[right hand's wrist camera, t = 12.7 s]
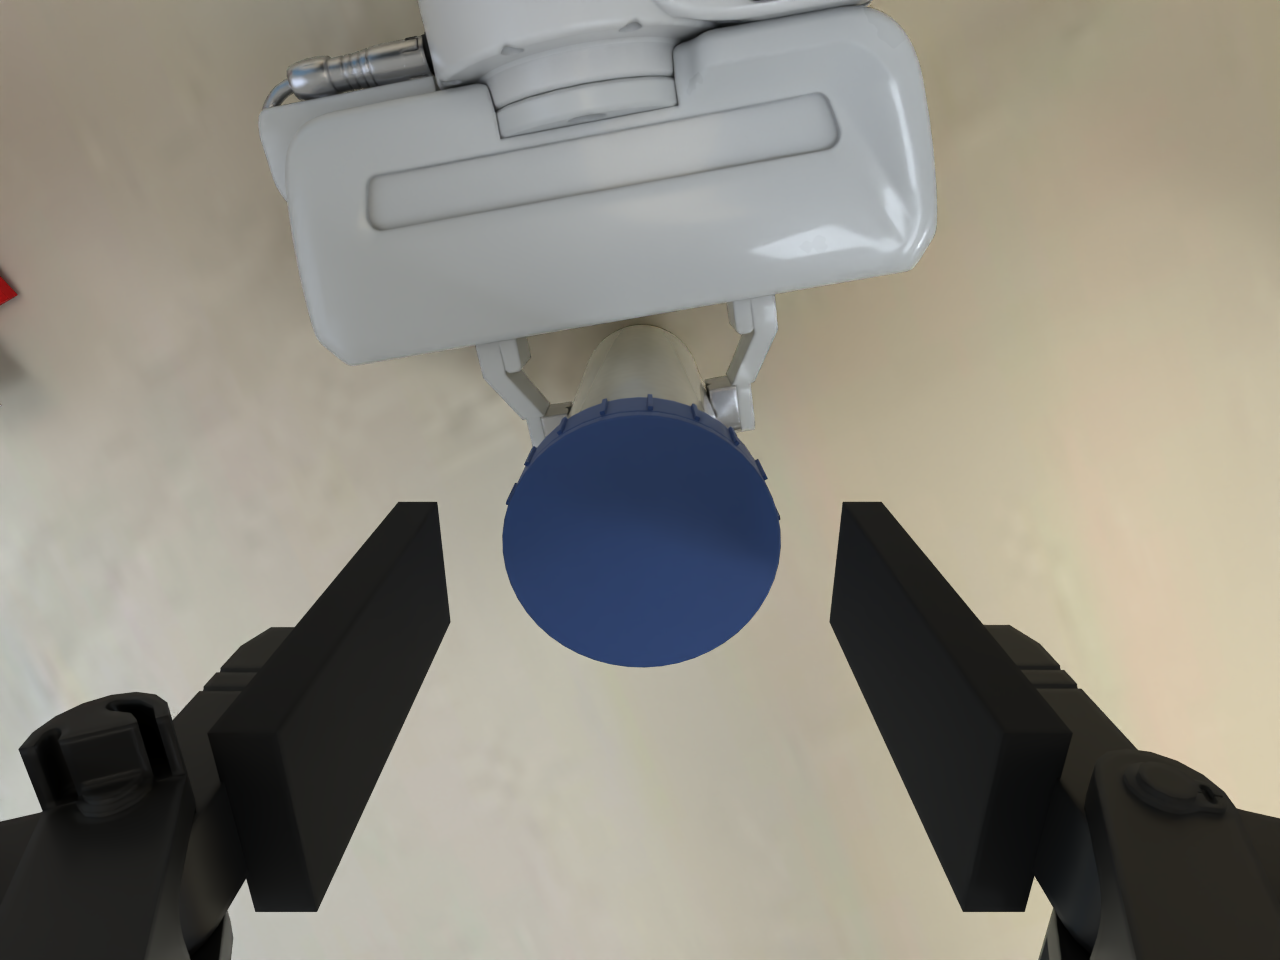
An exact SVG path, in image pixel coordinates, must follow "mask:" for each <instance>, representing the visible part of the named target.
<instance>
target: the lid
mask: <svg viewBox="0 0 1280 960" xmlns="http://www.w3.org/2000/svg"><path fill="white" fill-rule="evenodd" d="M524 465H525V468H524V470H523V472H522V475H521V477H520V479H519V481H518V483H515V484H514V486H513V489H512V491H511V493H510V495H509V497H508V499H507V501H506V505H508V508H507V511H506V515H505V519H504V527H503V535H502V537H503V556H504V561H505V567H506V571H507V574H508V577H509V580H510V583H511V586H512V588H513V590H514V592H515V594H516V596H517V598H518V600H519V601H520V603H521V604H522V606H523V607H524V609H525V610H526V612H527V613H528V614H529V616H530V617H531V618H532V619H533V620H534V621H535V622H536V624H537V625H538V626H539V627H540V628H542V629H543V630H544V631H545V632H546V633H547V634H548V635H549V636H550V637H552V638H553V639H555V640H556V641H558V642H559V643H561V644H562V645H563V646H565V647H567V648H569V649H571V650H573V651H574V652H576V653H578V654H581V655H583V656H586V657H588V658H591V659H593V660H597V661H600V662H604V663H608V664H612V665H619V666H626V667H657V666H665V665H670V664H676V663H680V662H683V661H686V660H690V659H693V658H696V657H698V656H700V655H702V654H705V653H707V652H709V651H711V650H713V649H714V648H716V647H718V646H720V645H721V644H723V643H725V642H726V641H727V640H729V639H730V638H731V637H732V636H734V635H735V634H736V633H738V632H739V631H740V630H741V629H742V628H743V627H744V626H745V625H746V624H747V623H748V622H749V621H750V620H751V618H752V617H753V616H754V615H755V613H756V612H757V611H758V610H759V608H760V607H761V605H762V603H763V601H764V600H765V598H766V596H767V595H768V593H769V590H770V588H771V586H772V583H773V581H774V579H775V575H776V571H777V568H778V564H779V557H780V549H781V536H780V525H779V520H780V515H779V513H778V511H777V509H776V507H775V504H774V501H773V498H772V496H771V493H770V491H769V489H768V487H767V485H766V483H765V481H764V480H766V479H768V478H767V476H766V474H765V472H764V470H763V468H762V466H761V464H760V462H759V460H758V459H757V460H754V458H753V457H752V455H751V454H750V452H749V451H748V449H747V448H746V446H745V445H744V444H743V443H742V442H741V441H740V440H739V438H738V437H737V435H736V433H735V430H734V428H732V427H731V426H730V427H729V428H727V427H726V426H725V425H723V424H722V423H721V422H719V421H718V420H716V419H715V418H713V417H711V416H710V415H708V414H707V413H705V412H702V411H700V410H698V408H697V405H695V404H693V403H692V405H691V406H689V405H686V404H682V403H679V402H676V401H672V400H666V399H660V398H653V396H652V394H648V397H633V398H622V399H617V400H612V401H607V398H606V399H602V403H600V404H598V405H595V406H592V407H589V408H587V409H585V410H583V411H581V412H579V413H577V414H575V415H573V416H571V417H570V418H568V419H567V418H566V416H565V417H564V418H562V420H561V422H560V425H558V426H557V427H556V428H555V429H554V430H553V431H552V432H551V433H550V434H548V435H547V436H546V437H545V438H544V440H543V441H542V442H541V443H540V445H539V446H538V447H537V448H536V447H535V446H533V448H532V449H531V451H530V453H529V455H528V457H527V459H526V462H525V464H524Z"/></svg>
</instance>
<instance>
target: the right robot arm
mask: <svg viewBox="0 0 1280 960" xmlns="http://www.w3.org/2000/svg"><path fill="white" fill-rule="evenodd" d="M449 624H450V613H449V604H448V595H447V586H446V577H445V568H444V559H443V550H442V541H441V532H440V523H439V514H438V505H437V502H398V503H397V504H396V506H395V507H394V508H393V509H392V510H391V512H390V513H389V514H388V515H387V516H386V518H385V519H384V520H383V521H382V523H381V524H380V525H379V526H378V527H377V529H376V530H375V531H374V532H373V533H372V535H371V536H370V537H369V538H368V539H367V541H366V542H365V543H364V544H363V545H362V547H361V548H360V549H359V550H358V552H357V553H356V554H355V555H354V556H353V558H352V559H351V560H350V561H349V562H348V564H347V565H346V566H345V567H344V568H343V570H342V571H341V572H340V573H339V574H338V576H337V577H336V578H335V579H334V580H333V582H332V583H331V584H330V585H329V587H328V588H327V589H326V590H325V591H324V593H323V594H322V595H321V596H320V597H319V599H318V600H317V601H316V602H315V603H314V605H313V606H312V607H311V608H310V609H309V611H308V612H307V613H306V614H305V616H304V617H303V618H302V619H301V620H300V622H299V623H298V624H297V625H296V626H295V627H271V628H269V629H267V630H266V631H264V632H263V633H261V634H259V635H258V636H256V637H255V638H253V639H251V640H250V641H248V642H247V643H245V644H243V645H242V646H240V647H239V649H238V650H237V651H236V652H235V653H234V654H233V655H232V656H231V657H230V658H229V659H228V661H227V662H226V663H225V664H224V665H223V666H222V667H221V670H220V673H216V674H215V675H214V676H213V677H212V678H211V679H210V680H209V681H208V682H207V683H206V685H205V686H204V690H203V691H199V692H198V693H197V694H196V695H195V697H194V698H193V699H192V700H191V701H190V702H189V703H188V704H187V705H186V706H185V707H184V709H183V710H182V711H181V712H180V713H179V714H178V715H177V716H176V717H175V718H174V719H173V721H172V718H171V714H170V711H169V707H168V704H167V702H166V701H164V700H163V699H161V698H160V697H159V696H157V695H155V694H148V693H140V692H132V693H124V694H115V695H109V696H106V697H103V698H99V699H96V700H93V701H89V702H86V703H83V704H81V705H79V706H76V707H74V708H72V709H70V710H68V711H66V712H64V713H62V714H59V715H57V716H55V717H54V718H53V719H51V720H50V721H48V722H47V723H45V724H44V725H43V726H41V727H40V728H38V729H37V730H35V731H34V732H33V733H32V734H31V735H30V736H29V737H28V739H27V740H26V741H25V742H24V743H23V744H22V746H21V747H20V748H19V752H20V754H21V757H22V759H23V762H24V765H25V767H26V770H27V772H28V775H29V777H30V780H31V782H32V785H33V787H34V790H35V793H36V795H37V798H38V800H39V803H40V805H41V808H42V810H43V811H42V812H40V813H37V814H32V815H28V816H23V817H19V818H15V819H10V820H6V821H1V822H0V960H231V954H232V945H233V933H232V927H231V921H230V918H229V914H228V911H227V910H228V908H229V906H230V905H231V903H232V901H233V900H234V898H235V896H236V895H237V893H238V891H239V889H240V888H241V886H242V884H243V883H244V881H245V879H247V883H248V886H249V890H250V894H251V897H252V901H253V905H254V908H255V912H317V911H318V908H319V906H320V904H321V902H322V900H323V898H324V895H325V893H326V891H327V889H328V887H329V885H330V882H331V880H332V878H333V876H334V874H335V872H336V869H337V867H338V865H339V863H340V861H341V858H342V856H343V854H344V852H345V850H346V848H347V845H348V843H349V841H350V839H351V837H352V835H353V832H354V830H355V828H356V826H357V824H358V822H359V819H360V817H361V815H362V813H363V811H364V809H365V806H366V804H367V802H368V800H369V798H370V796H371V793H372V791H373V789H374V787H375V785H376V782H377V780H378V778H379V776H380V774H381V772H382V769H383V767H384V765H385V763H386V761H387V759H388V756H389V754H390V752H391V750H392V748H393V746H394V743H395V741H396V739H397V737H398V735H399V733H400V730H401V728H402V726H403V724H404V722H405V720H406V717H407V715H408V713H409V711H410V709H411V706H412V704H413V702H414V700H415V698H416V696H417V693H418V691H419V689H420V687H421V685H422V683H423V680H424V678H425V676H426V674H427V672H428V670H429V667H430V665H431V663H432V661H433V659H434V657H435V654H436V652H437V650H438V648H439V646H440V644H441V641H442V639H443V637H444V635H445V633H446V631H447V628H448V626H449ZM830 624H831V626H832V628H833V631H834V633H835V635H836V637H837V639H838V641H839V644H840V646H841V648H842V650H843V652H844V654H845V657H846V659H847V661H848V663H849V665H850V667H851V670H852V672H853V674H854V676H855V678H856V680H857V683H858V685H859V687H860V689H861V691H862V693H863V696H864V698H865V700H866V702H867V704H868V707H869V709H870V711H871V713H872V715H873V717H874V720H875V722H876V724H877V726H878V728H879V730H880V733H881V735H882V737H883V739H884V741H885V743H886V746H887V748H888V750H889V752H890V754H891V756H892V759H893V761H894V763H895V765H896V767H897V769H898V772H899V774H900V776H901V778H902V780H903V782H904V785H905V787H906V789H907V791H908V793H909V796H910V798H911V800H912V802H913V804H914V806H915V809H916V811H917V813H918V815H919V817H920V819H921V822H922V824H923V826H924V828H925V830H926V832H927V835H928V837H929V839H930V841H931V843H932V845H933V848H934V850H935V852H936V854H937V856H938V858H939V861H940V863H941V865H942V867H943V869H944V872H945V874H946V876H947V878H948V880H949V882H950V885H951V887H952V889H953V891H954V893H955V895H956V898H957V900H958V902H959V904H960V906H961V908H962V911H963V912H1025V908H1026V905H1027V901H1028V897H1029V894H1030V890H1031V886H1032V883H1033V879H1034V876H1035V877H1036V879H1037V881H1038V882H1039V884H1040V886H1041V887H1042V889H1043V891H1044V893H1045V894H1046V896H1047V898H1048V899H1049V901H1050V903H1051V904H1052V906H1053V911H1052V914H1051V918H1050V921H1049V925H1048V928H1047V932H1046V935H1045V939H1044V942H1043V946H1042V949H1041V952H1040V956H1039V959H1038V960H1280V818H1275V817H1271V816H1266V815H1262V814H1257V813H1253V812H1248V811H1244V810H1240V809H1237V808H1236V807H1235V806H1234V804H1233V803H1232V802H1231V800H1230V799H1229V798H1228V796H1227V795H1226V793H1225V792H1224V791H1223V790H1221V789H1220V788H1219V787H1218V786H1216V785H1215V784H1214V783H1213V782H1211V781H1210V780H1209V779H1208V778H1206V777H1205V776H1204V775H1203V774H1201V773H1199V772H1197V771H1195V770H1193V769H1191V768H1189V767H1188V766H1186V765H1184V764H1182V763H1180V762H1178V761H1176V760H1173V759H1170V758H1167V757H1164V756H1161V755H1158V754H1155V753H1152V752H1147V751H1140V750H1137V749H1136V747H1135V746H1134V745H1133V744H1132V743H1131V742H1130V741H1129V740H1128V739H1127V738H1126V737H1125V736H1124V734H1123V733H1122V732H1121V731H1120V730H1119V729H1118V728H1117V727H1116V726H1115V725H1114V724H1113V723H1112V721H1111V720H1110V719H1109V718H1108V717H1107V716H1106V715H1105V714H1104V713H1103V712H1102V711H1101V710H1100V708H1099V707H1098V706H1097V705H1096V704H1095V703H1094V702H1093V701H1092V700H1091V699H1090V698H1089V697H1088V695H1087V694H1086V693H1085V692H1084V691H1083V690H1082V689H1078V688H1077V684H1076V682H1075V681H1074V680H1073V679H1072V678H1071V677H1070V676H1069V675H1068V674H1067V673H1066V672H1065V670H1060V665H1059V664H1058V663H1057V662H1056V661H1055V660H1054V659H1053V657H1052V656H1051V655H1050V654H1049V653H1048V652H1047V651H1046V650H1045V649H1044V648H1043V647H1042V646H1041V644H1039V643H1038V642H1036V641H1035V640H1033V639H1031V638H1030V637H1028V636H1026V635H1025V634H1023V633H1022V632H1020V631H1018V630H1017V629H1015V628H1013V627H1012V626H1010V625H983V624H982V623H981V622H980V620H979V619H978V618H977V617H976V616H975V614H974V613H973V612H972V611H971V609H970V608H969V607H968V606H967V605H966V603H965V602H964V601H963V600H962V599H961V597H960V596H959V595H958V594H957V593H956V591H955V590H954V589H953V588H952V587H951V585H950V584H949V583H948V582H947V580H946V579H945V578H944V577H943V576H942V574H941V573H940V572H939V571H938V570H937V568H936V567H935V566H934V565H933V564H932V562H931V561H930V560H929V559H928V558H927V556H926V555H925V554H924V553H923V552H922V550H921V549H920V548H919V547H918V545H917V544H916V543H915V542H914V541H913V539H912V538H911V537H910V536H909V535H908V533H907V532H906V531H905V530H904V529H903V527H902V526H901V525H900V524H899V523H898V521H897V520H896V519H895V518H894V517H893V515H892V514H891V513H890V512H889V510H888V509H887V508H886V507H885V506H884V504H883V503H882V502H843V505H842V514H841V523H840V532H839V541H838V550H837V559H836V568H835V577H834V586H833V595H832V604H831V613H830Z"/></svg>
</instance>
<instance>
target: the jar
mask: <svg viewBox="0 0 1280 960" xmlns="http://www.w3.org/2000/svg"><path fill="white" fill-rule="evenodd" d="M648 394H652V396H653V398H660V399H666V400H672V401H676V402H679V403H682V404H686V405H689V406H691V405H692V403H693V404H695V405H697V408H698V410H700V411H702V412H705V413H707V414H708V415H710V416H711V417H713V418H715V419H716V417H715V414H714V411H713V408H712V406H711V403H710V400H709V398H708V395H707V392H706V390H705V387H704V384H703V382H702V379H701V376H700V373H699V371H698V368H697V365H696V363H695V360H694V358H693V356H692V354H691V352H690V351H689V349H688V348H687V346H686V345H685V344H684V343H683V342H682V341H681V340H680V339H679V338H678V337H676V336H675V335H673V334H672V333H670V332H668V331H666V330H664V329H662V328H659V327H655V326H650V325H634V326H629V327H625V328H622V329H619V330H617V331H615V332H613V333H612V334H610V335H609V336H607V337H606V338H605V339H604V340H603V341H602V342H601V343H600V344H599V345H598V346H597V347H596V349H595V350H594V352H593V353H592V355H591V357H590V359H589V362H588V364H587V367H586V370H585V372H584V375H583V378H582V380H581V383H580V386H579V388H578V391H577V394H576V396H575V399H574V402H573V404H572V407H571V410H570V412H569V415H568V418H570V417H571V416H573V415H575V414H577V413H579V412H581V411H583V410H585V409H587V408H589V407H592V406H595V405H598V404H600V403H602V399H606V398H607V401H612V400H617V399H622V398H633V397H648ZM568 418H567V419H568ZM716 420H717V419H716Z"/></svg>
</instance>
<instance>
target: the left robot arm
mask: <svg viewBox="0 0 1280 960" xmlns="http://www.w3.org/2000/svg"><path fill="white" fill-rule="evenodd" d="M871 2H872V0H418V5H419V9H420V13H421V17H422V21H423V24H424V29H425V34H424V35H421V36H418V37H417V36H414V37H409V38H406V39H403V40H398V41H393V42H388V43H383V44H378V45H375V46H371V47H369V48H365V49H363V50H361V51H357V52H354V53H352V54H347V55H344V56H338V57H334V58H331V57H329V56H318V57H312V58H307V59H304V60H301V61H299V62H296V63H294V64H292V65H291V66H289V67H288V69H287V79H285V80H283V81H282V82H280V83H279V84H278V85H276V86H275V87H274V88H273V89H272V91H271V92H270V93H269V95H268V96H267V98H266V100H265V102H264V105H263V108H262V111H261V113H260V115H259V120H258V126H259V134H260V139H261V142H262V145H263V148H264V152H265V155H266V158H267V161H268V164H269V167H270V171H271V174H272V177H273V180H274V182H275V185H276V187H277V188H278V190H279V192H280V194H281V195H282V196H283V198H284V199H285V201H286V202H287V204H288V212H289V219H290V225H291V232H292V238H293V244H294V250H295V255H296V260H297V265H298V270H299V275H300V280H301V284H302V288H303V293H304V297H305V301H306V305H307V309H308V312H309V316H310V320H311V323H312V327H313V330H314V333H315V335H316V337H317V339H318V340H319V342H320V343H321V344H322V345H323V346H324V347H325V348H327V349H328V350H329V351H330V352H331V353H333V354H334V355H335V356H336V357H338V358H339V359H340V360H341V361H343V362H344V363H346V364H347V365H351V366H357V365H363V364H369V363H375V362H381V361H387V360H393V359H399V358H404V357H410V356H416V355H422V354H428V353H434V352H440V351H445V350H451V349H457V348H463V347H469V346H476V350H477V354H478V358H479V362H480V366H481V370H482V374H483V378H484V379H485V380H486V381H487V383H488V384H489V385H490V386H491V387H492V388H493V389H494V390H495V391H496V392H497V393H498V394H499V395H500V396H501V397H502V398H503V399H504V401H505V402H506V403H507V404H508V405H509V406H510V407H511V408H512V409H513V410H514V411H515V412H516V413H517V414H518V415H519V416H520V417H521V419H522V420H527V424H528V429H529V433H530V437H531V441H532V446H535V447H536V448H537V447H538V446H539V445H540V443H541V442H542V441H543V440H544V438H545V437H546V436H547V435H548V434H550V433H551V432H552V431H553V430H554V429H555V428H556V427H557V426H558V425H560V422H561V420H562V418H564V417H565V416H566V418H568V415H569V412H570V410H571V407H572V402H564V403H557V404H550V402H549V401H548V400H547V399H546V398H545V397H544V395H543V394H542V393H541V392H540V391H539V390H538V388H537V387H536V386H535V385H534V384H533V382H532V381H531V380H530V379H529V378H528V377H527V375H526V374H525V373H524V372H523V371H522V370H521V369H522V368H523V366H524V365H525V364H526V363H527V361H528V360H529V359H530V357H531V354H530V350H529V345H528V340H527V336H533V335H539V334H545V333H551V332H557V331H562V330H568V329H574V328H580V327H586V326H592V325H598V324H603V323H609V322H615V321H621V320H627V319H633V318H638V317H644V316H650V315H656V314H662V313H668V312H674V311H679V310H685V309H691V308H697V307H703V306H709V305H715V304H720V303H726V302H727V309H728V317H729V323H730V324H731V326H732V327H733V328H734V329H735V331H736V332H738V333H739V334H742V336H741V338H740V341H739V343H738V346H737V348H736V351H735V353H734V356H733V358H732V361H731V363H730V366H729V368H728V371H727V373H726V375H727V376H721V377H716V378H711V379H705V386H706V392H707V395H708V398H709V400H710V403H711V406H712V408H713V411H714V414H715V417H716V419H717V420H718V421H719V422H721V423H722V424H723V425H725V426H726V427H727V428H729V427H730V426H731V427H732V428H734V430H735V433H736V432H742V431H748V430H755V417H754V408H753V400H752V391H751V383H752V382H754V381H755V379H756V377H757V375H758V372H759V370H760V368H761V366H762V364H763V361H764V359H765V357H766V355H767V353H768V350H769V348H770V346H771V344H772V341H773V339H774V337H775V335H776V333H777V330H778V323H777V313H776V302H775V294H779V293H785V292H791V291H796V290H802V289H808V288H814V287H820V286H826V285H832V284H837V283H843V282H849V281H855V280H861V279H867V278H873V277H878V276H884V275H890V274H896V273H901V272H907V271H909V270H911V269H912V268H914V267H915V266H916V264H917V263H918V261H919V260H920V259H921V257H922V256H923V254H924V252H925V251H926V249H927V247H928V246H929V244H930V243H931V241H932V239H933V238H934V235H935V232H936V227H937V188H936V173H935V161H934V150H933V141H932V133H931V125H930V117H929V111H928V105H927V99H926V93H925V86H924V81H923V76H922V71H921V67H920V63H919V60H918V57H917V54H916V52H915V49H914V47H913V44H912V42H911V41H910V39H909V37H908V35H907V34H906V32H905V31H904V29H903V28H902V27H901V26H900V25H899V24H898V23H897V22H896V21H895V20H894V19H893V18H891V17H890V16H888V15H887V14H885V13H883V12H881V11H879V10H877V9H873V8H870V7H867V6H868V5H869V4H870V3H871ZM359 89H362V90H359ZM354 90H357V91H354ZM350 91H352V92H350ZM345 92H347V93H345ZM293 93H294V95H295V96H296V97H297V98H298V99H299V100H304V101H301V102H296V103H291V104H286V105H281V104H282V103H283V101H284V100H285V99H286V98H287V97H288V96H290V95H291V94H293ZM280 105H281V106H280Z"/></svg>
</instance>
